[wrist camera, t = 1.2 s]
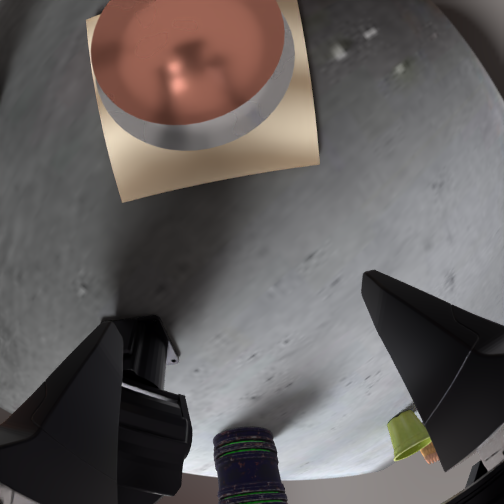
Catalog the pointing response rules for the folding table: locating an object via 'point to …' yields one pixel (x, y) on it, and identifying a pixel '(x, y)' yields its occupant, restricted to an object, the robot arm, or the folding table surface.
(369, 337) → the folding table surface
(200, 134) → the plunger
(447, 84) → the folding table surface
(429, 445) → the ammunition clip
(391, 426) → the plant pot
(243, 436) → the storage jar
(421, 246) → the folding table surface
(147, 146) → the stand
